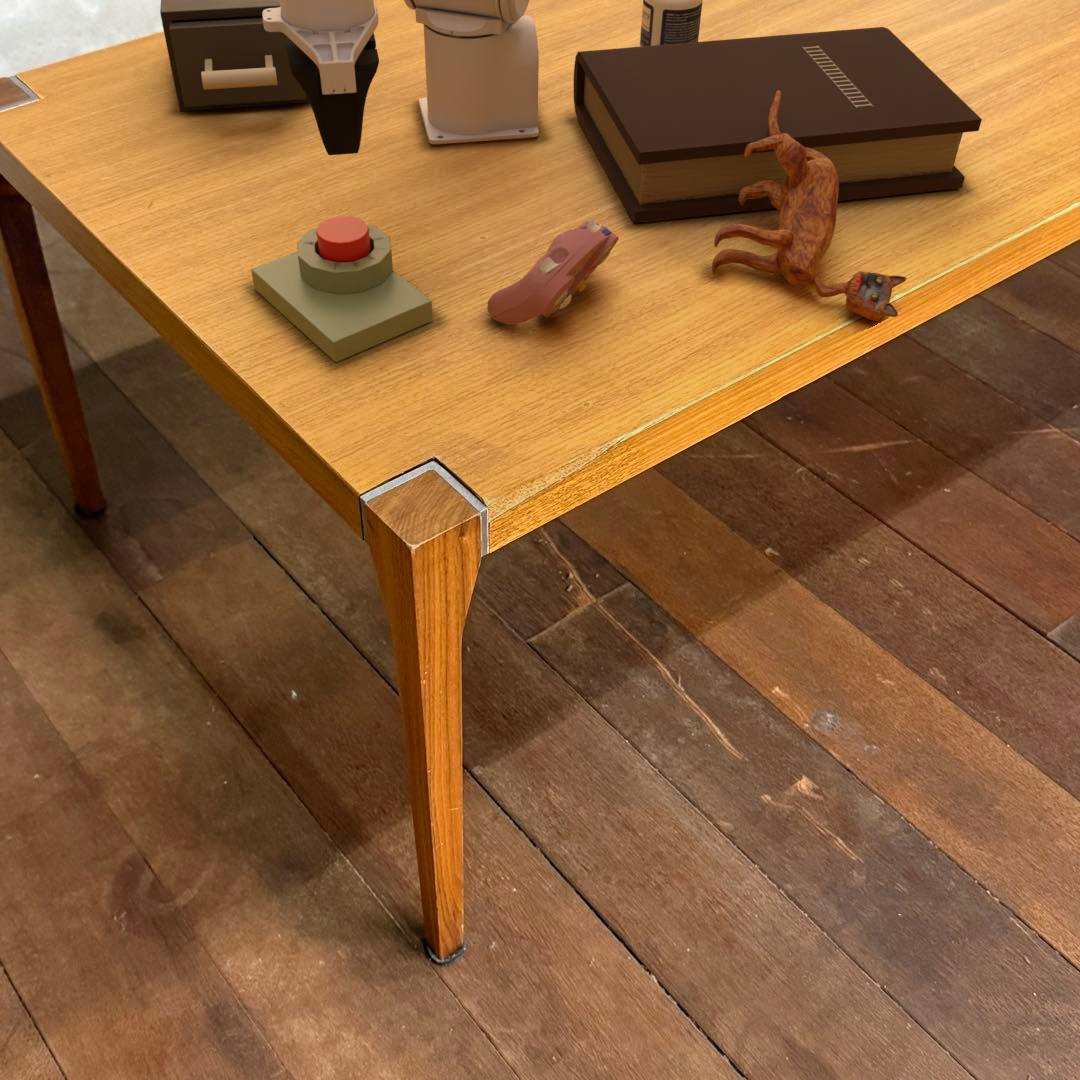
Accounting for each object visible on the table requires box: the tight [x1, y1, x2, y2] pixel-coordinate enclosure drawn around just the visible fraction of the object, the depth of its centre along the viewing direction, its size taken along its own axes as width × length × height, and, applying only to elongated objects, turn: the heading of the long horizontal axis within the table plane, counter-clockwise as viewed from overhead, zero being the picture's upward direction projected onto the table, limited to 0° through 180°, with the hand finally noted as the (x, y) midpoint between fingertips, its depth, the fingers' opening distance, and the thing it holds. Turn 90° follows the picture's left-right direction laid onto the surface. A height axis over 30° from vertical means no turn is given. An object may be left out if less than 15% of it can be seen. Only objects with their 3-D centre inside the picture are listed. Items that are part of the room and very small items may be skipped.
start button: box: [316, 215, 370, 263], centre depth 85 cm, size 4×4×2 cm
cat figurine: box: [711, 91, 907, 322], centre depth 89 cm, size 18×7×14 cm
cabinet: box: [159, 0, 310, 112], centre depth 108 cm, size 13×12×9 cm
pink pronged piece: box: [487, 218, 620, 325], centre depth 85 cm, size 10×5×7 cm, turn 148°
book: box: [573, 26, 983, 224], centre depth 101 cm, size 28×20×6 cm
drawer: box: [169, 16, 306, 107], centre depth 106 cm, size 16×10×7 cm, turn 11°
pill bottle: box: [639, 0, 704, 47], centre depth 111 cm, size 5×5×10 cm
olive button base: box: [250, 223, 433, 363], centre depth 85 cm, size 11×9×4 cm
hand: (342, 149), depth 81 cm, fingers closed
